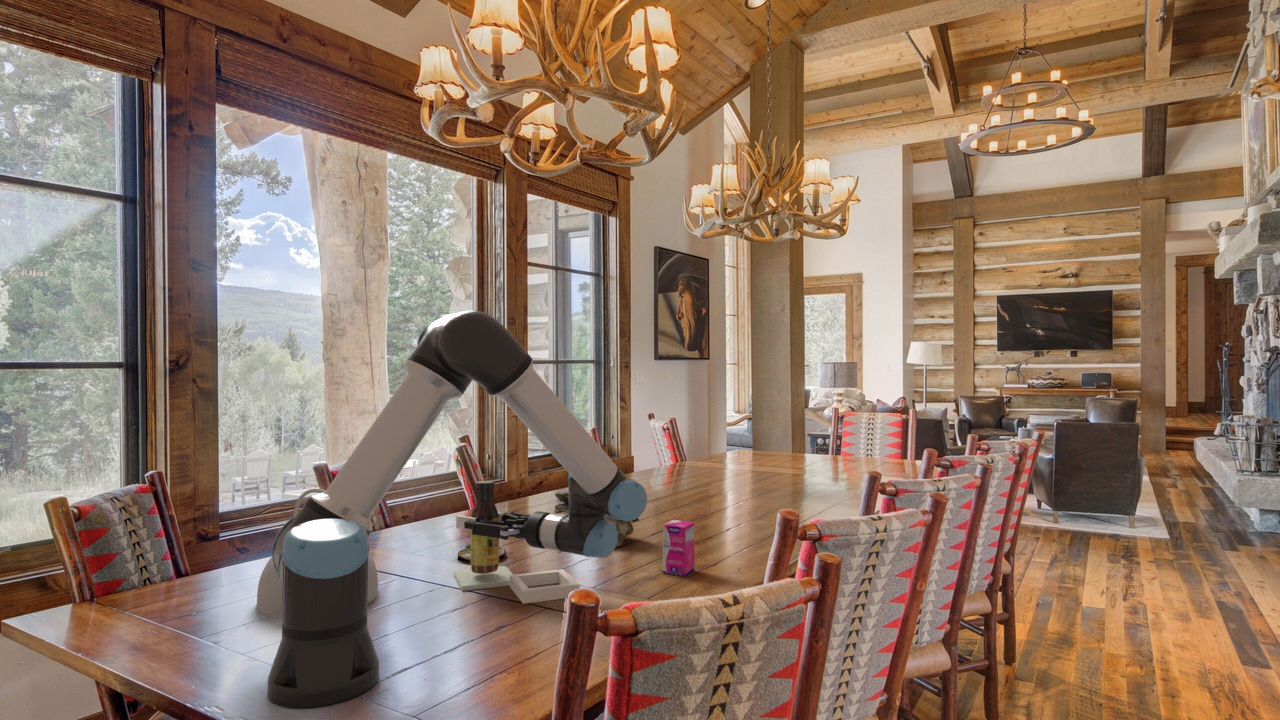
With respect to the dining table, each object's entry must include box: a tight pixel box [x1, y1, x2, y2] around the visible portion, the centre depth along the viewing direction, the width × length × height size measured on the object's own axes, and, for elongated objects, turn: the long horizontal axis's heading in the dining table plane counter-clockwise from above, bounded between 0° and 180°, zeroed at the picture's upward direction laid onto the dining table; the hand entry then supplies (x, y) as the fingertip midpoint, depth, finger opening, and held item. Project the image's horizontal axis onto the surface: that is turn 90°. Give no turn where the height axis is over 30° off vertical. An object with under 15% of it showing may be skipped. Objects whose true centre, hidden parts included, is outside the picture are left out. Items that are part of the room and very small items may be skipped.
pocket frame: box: [509, 568, 581, 605], centre depth 148 cm, size 12×12×2 cm
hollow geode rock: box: [553, 492, 640, 548], centre depth 194 cm, size 28×13×15 cm
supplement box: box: [662, 519, 695, 577], centre depth 163 cm, size 6×6×12 cm
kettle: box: [255, 488, 379, 619], centre depth 142 cm, size 25×23×23 cm
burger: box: [456, 542, 507, 561], centre depth 175 cm, size 12×12×8 cm
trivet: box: [452, 565, 514, 592], centre depth 156 cm, size 12×12×1 cm
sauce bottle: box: [470, 480, 500, 574], centre depth 156 cm, size 7×6×20 cm
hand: (468, 519), depth 159 cm, fingers closed on sauce bottle, 6 cm apart
